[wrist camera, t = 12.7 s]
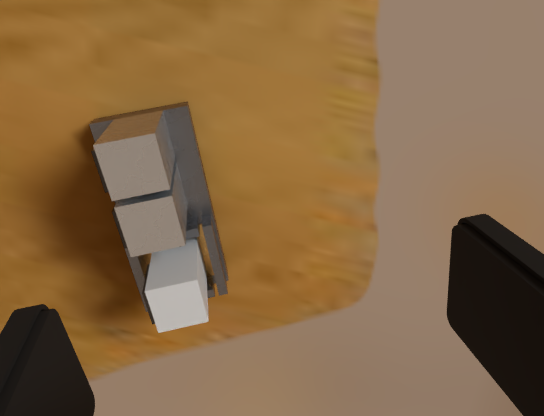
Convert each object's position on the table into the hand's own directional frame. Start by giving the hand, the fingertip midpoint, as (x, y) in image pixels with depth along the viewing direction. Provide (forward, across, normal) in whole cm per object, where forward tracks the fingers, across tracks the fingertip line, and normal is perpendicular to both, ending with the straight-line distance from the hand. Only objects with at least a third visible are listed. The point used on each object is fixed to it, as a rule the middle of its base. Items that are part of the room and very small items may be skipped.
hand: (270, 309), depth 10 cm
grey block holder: (+30, +6, +10) cm, 32 cm away
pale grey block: (+28, +6, +14) cm, 32 cm away
